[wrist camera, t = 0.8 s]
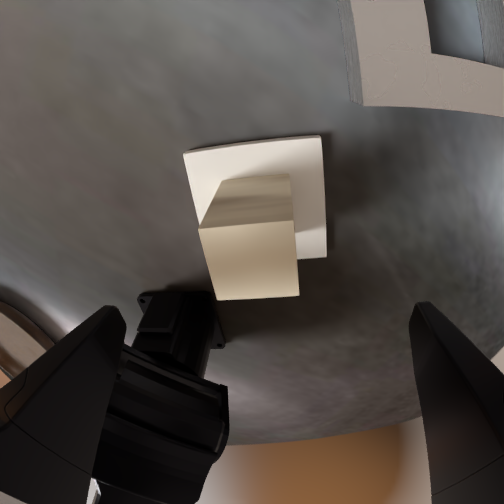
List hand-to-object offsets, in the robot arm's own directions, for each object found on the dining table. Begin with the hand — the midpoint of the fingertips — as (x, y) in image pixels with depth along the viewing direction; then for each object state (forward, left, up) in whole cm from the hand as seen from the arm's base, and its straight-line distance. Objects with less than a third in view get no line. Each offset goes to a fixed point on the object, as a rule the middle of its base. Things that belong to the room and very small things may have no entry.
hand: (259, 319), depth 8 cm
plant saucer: (-18, +37, -12) cm, 43 cm away
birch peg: (-2, +1, -11) cm, 11 cm away
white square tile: (-2, +1, -12) cm, 12 cm away
